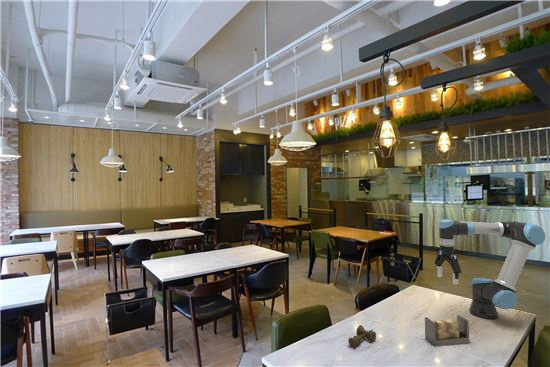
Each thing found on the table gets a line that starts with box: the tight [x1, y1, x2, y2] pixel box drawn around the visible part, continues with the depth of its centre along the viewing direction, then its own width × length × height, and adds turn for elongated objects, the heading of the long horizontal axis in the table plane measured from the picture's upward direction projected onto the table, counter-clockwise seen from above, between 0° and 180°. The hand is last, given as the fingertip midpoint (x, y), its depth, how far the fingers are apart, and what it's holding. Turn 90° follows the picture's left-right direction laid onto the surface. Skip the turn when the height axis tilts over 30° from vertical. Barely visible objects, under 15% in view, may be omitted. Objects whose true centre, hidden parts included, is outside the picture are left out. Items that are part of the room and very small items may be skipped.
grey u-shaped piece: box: [424, 314, 470, 347], centre depth 156 cm, size 20×7×12 cm, turn 96°
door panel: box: [433, 318, 459, 339], centre depth 156 cm, size 12×3×10 cm, turn 96°
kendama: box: [347, 324, 377, 349], centre depth 157 cm, size 6×10×20 cm
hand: (447, 280), depth 174 cm, fingers open, 13 cm apart
